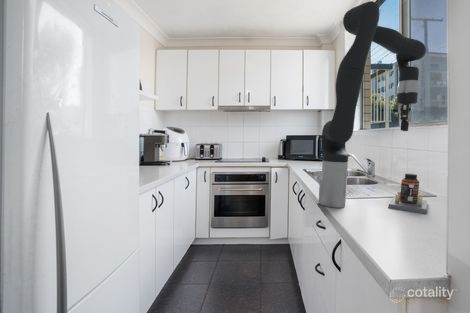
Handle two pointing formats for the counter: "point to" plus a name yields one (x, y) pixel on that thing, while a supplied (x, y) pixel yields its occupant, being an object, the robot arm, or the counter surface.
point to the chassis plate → (409, 204)
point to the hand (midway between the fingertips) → (404, 130)
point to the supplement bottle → (409, 189)
